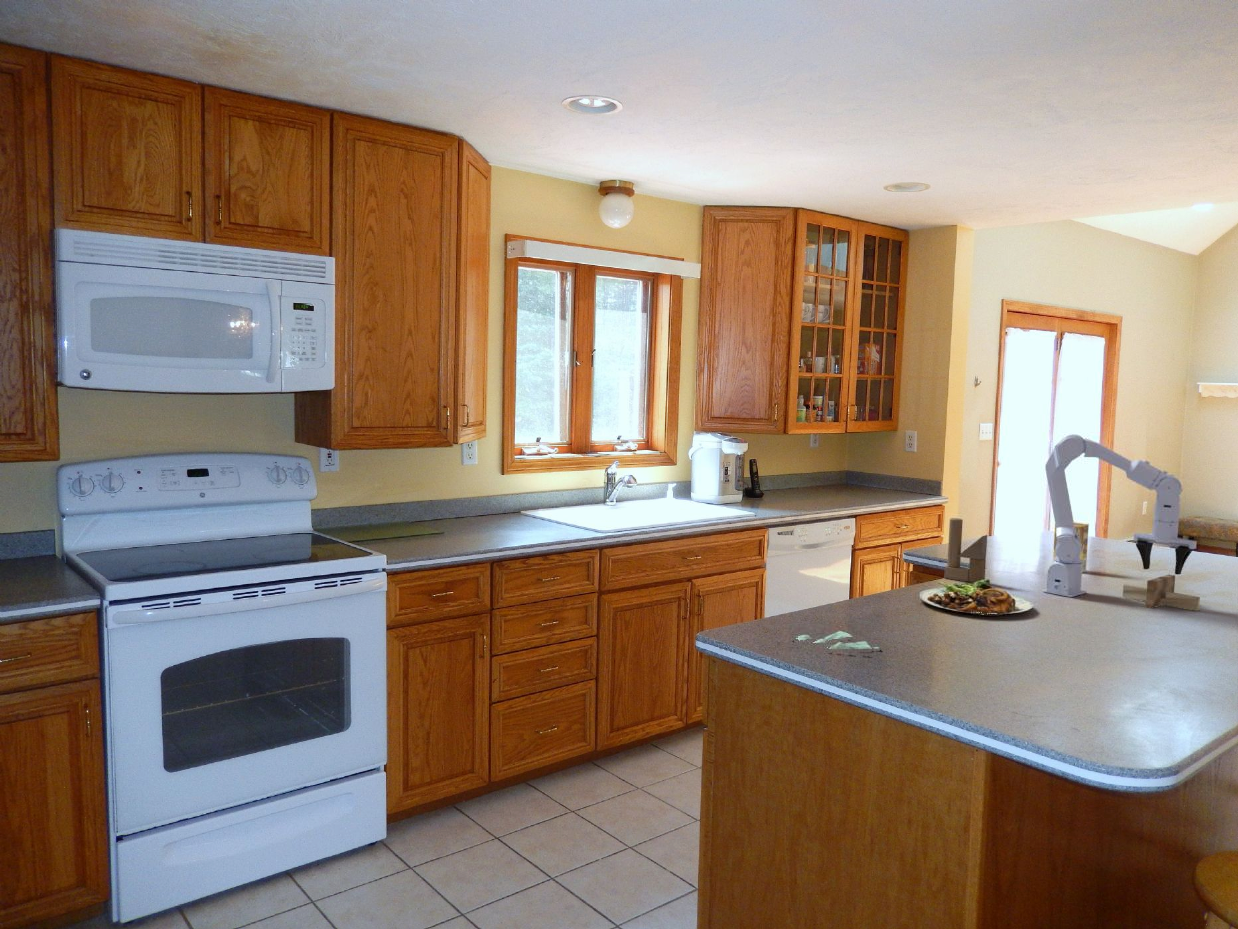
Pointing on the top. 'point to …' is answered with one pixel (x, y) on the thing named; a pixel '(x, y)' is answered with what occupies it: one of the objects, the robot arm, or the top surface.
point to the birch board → (1170, 599)
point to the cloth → (839, 645)
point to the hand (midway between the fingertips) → (1161, 571)
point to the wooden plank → (1159, 589)
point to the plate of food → (975, 599)
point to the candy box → (1083, 536)
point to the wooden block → (965, 555)
